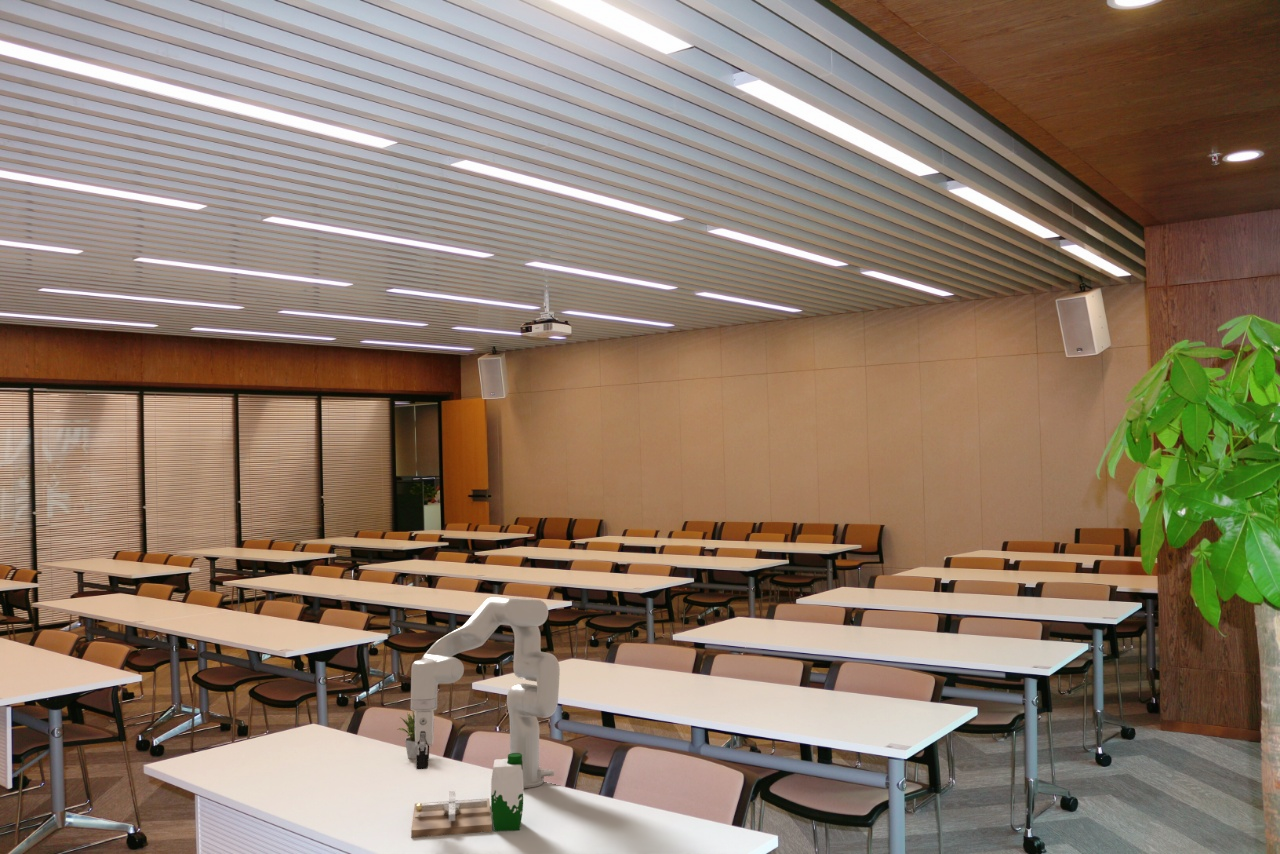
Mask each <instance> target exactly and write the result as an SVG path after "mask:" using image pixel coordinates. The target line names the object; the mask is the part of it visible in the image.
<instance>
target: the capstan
mask: <svg viewBox="0 0 1280 854" xmlns="http://www.w3.org/2000/svg"><path fill="white" fill-rule="evenodd" d="M478 799H479V800H473V799H463V800H464V801H459V800H457V799H456V790H452V791H450V790H449V791H448V800H446V802H445V801H434V802H435V803H430V802H421V803H420V802H418V803H419V804H417V805H416V807H415V809H416V811H417V812H428V811H442V810H443V814H444V815H446V816H449V821H455V815H459V814H460V813H461V809H470V808H484V807H487V799H488V798H478Z"/></svg>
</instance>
